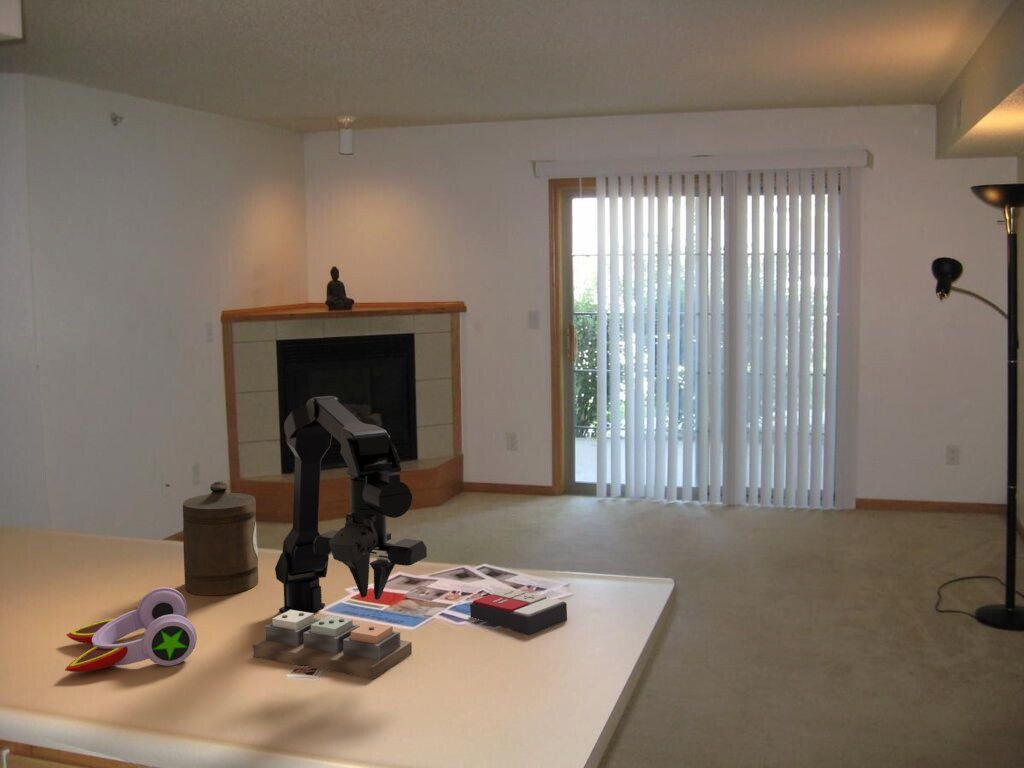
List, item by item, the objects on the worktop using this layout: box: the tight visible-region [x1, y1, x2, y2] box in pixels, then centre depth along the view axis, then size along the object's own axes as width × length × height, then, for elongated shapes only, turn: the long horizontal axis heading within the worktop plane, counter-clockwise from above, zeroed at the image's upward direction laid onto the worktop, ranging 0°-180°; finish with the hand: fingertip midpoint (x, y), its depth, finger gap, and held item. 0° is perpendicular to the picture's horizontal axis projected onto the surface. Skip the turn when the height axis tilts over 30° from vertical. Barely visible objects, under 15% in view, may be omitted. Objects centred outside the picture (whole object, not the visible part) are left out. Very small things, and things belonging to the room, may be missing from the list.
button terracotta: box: [351, 621, 394, 644], centre depth 166 cm, size 5×5×2 cm
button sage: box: [311, 615, 354, 637], centre depth 169 cm, size 5×5×2 cm
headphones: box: [64, 586, 198, 673], centre depth 171 cm, size 20×10×20 cm
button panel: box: [252, 617, 413, 680], centre depth 169 cm, size 24×12×4 cm, turn 65°
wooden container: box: [182, 480, 259, 597], centre depth 208 cm, size 15×15×22 cm
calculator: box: [469, 588, 568, 636], centre depth 187 cm, size 11×4×15 cm
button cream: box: [271, 610, 315, 630], centre depth 172 cm, size 5×5×2 cm
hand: (370, 597), depth 165 cm, fingers open, 2 cm apart
